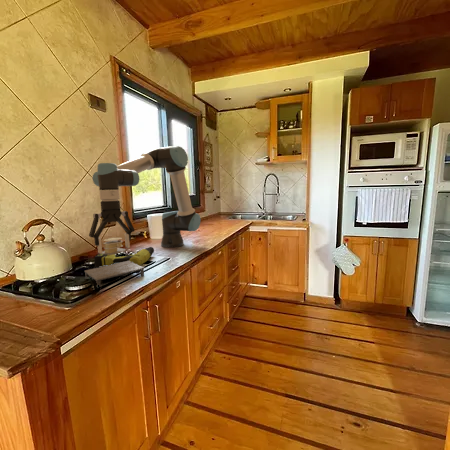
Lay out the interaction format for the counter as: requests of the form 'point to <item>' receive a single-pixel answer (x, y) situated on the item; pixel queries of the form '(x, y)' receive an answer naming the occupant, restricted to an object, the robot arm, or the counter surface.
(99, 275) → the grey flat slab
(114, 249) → the stacked layers on plate
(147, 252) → the cordless drill
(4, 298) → the counter surface
